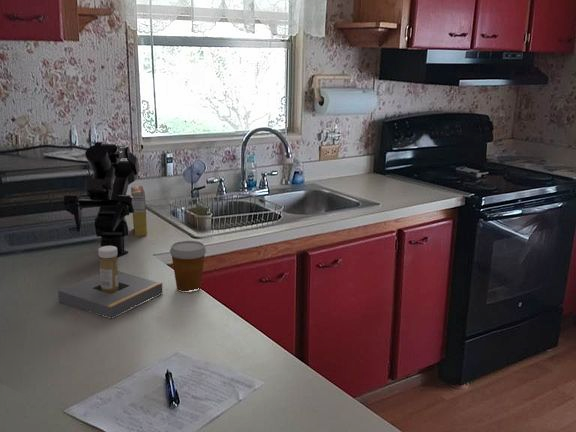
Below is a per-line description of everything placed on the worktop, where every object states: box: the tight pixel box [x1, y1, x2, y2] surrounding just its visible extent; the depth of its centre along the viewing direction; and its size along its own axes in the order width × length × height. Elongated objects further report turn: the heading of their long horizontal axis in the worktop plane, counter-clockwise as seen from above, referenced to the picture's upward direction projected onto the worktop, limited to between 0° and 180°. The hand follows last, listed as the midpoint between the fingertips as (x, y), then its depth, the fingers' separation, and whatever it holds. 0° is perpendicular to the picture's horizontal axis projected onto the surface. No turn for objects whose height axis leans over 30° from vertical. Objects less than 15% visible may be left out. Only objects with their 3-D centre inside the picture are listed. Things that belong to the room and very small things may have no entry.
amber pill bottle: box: [97, 246, 119, 294], centre depth 153 cm, size 5×5×14 cm
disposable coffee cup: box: [169, 240, 207, 292], centre depth 161 cm, size 10×10×12 cm
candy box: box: [130, 185, 148, 237], centre depth 206 cm, size 9×4×15 cm, turn 17°
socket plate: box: [57, 270, 164, 318], centre depth 155 cm, size 18×18×3 cm
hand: (95, 230), depth 164 cm, fingers open, 9 cm apart
